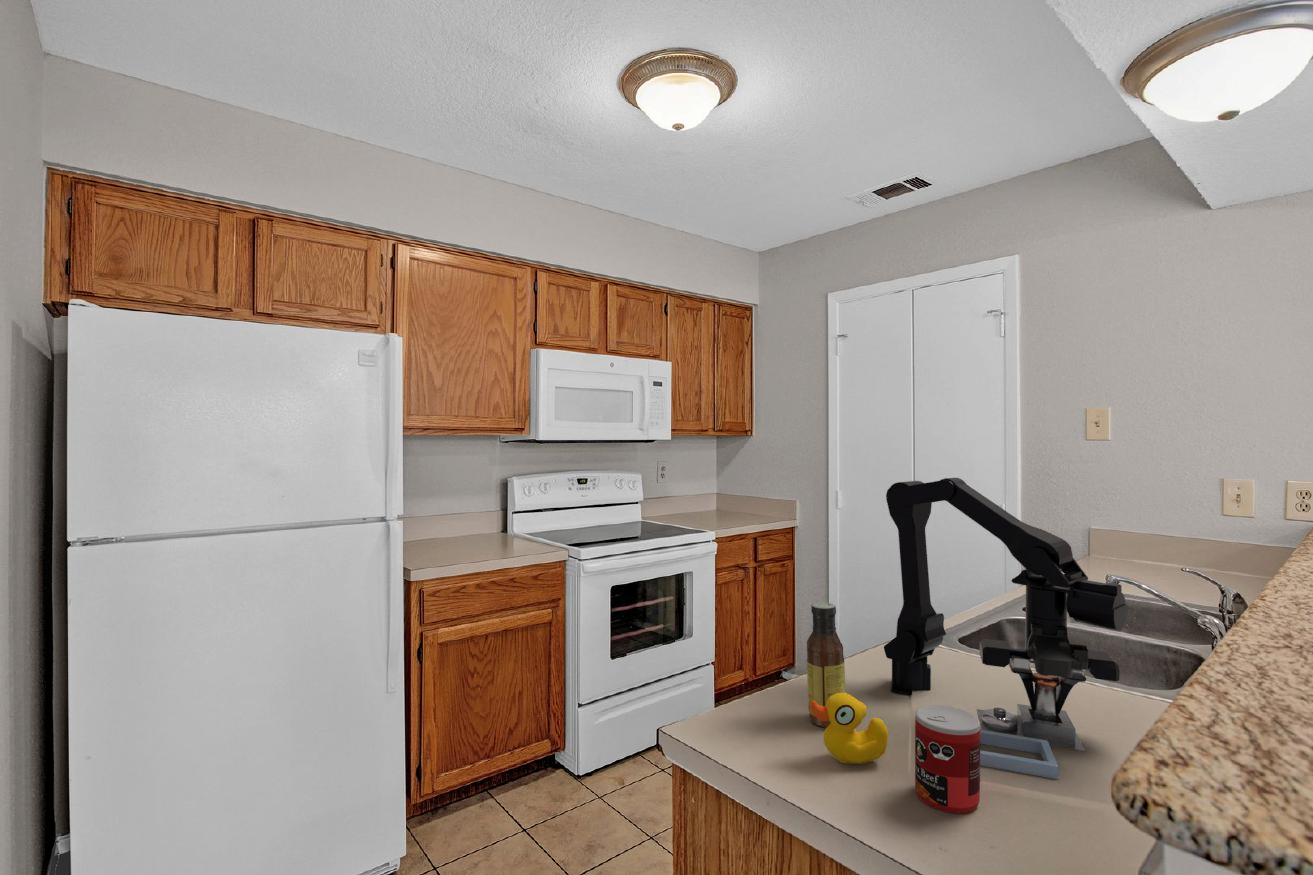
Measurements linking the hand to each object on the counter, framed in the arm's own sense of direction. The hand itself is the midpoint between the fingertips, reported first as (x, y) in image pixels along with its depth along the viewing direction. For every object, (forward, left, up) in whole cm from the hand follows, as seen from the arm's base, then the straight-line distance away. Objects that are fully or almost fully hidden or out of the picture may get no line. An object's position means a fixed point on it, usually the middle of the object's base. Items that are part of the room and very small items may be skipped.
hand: (1045, 711), depth 103 cm
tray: (-6, -11, -4) cm, 14 cm away
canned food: (-15, -25, -4) cm, 30 cm away
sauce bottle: (-33, -8, -4) cm, 35 cm away
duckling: (-28, -20, -4) cm, 35 cm away
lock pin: (0, 0, -3) cm, 3 cm away
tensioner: (-2, 0, -4) cm, 5 cm away
